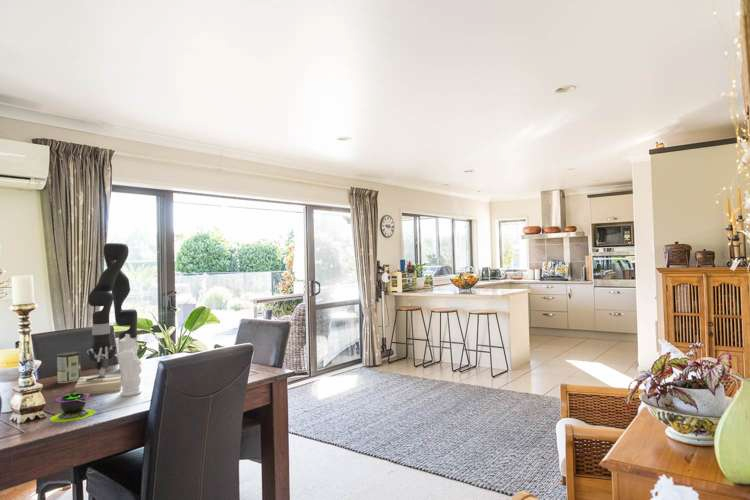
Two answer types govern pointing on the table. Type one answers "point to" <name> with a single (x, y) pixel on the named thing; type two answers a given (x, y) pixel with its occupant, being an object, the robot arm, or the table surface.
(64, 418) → the toy cauldron
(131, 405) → the table surface
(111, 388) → the dial board
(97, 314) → the robot arm
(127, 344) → the milk
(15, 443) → the table surface
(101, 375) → the lever
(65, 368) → the grey-green carton
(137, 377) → the cherub figurine
